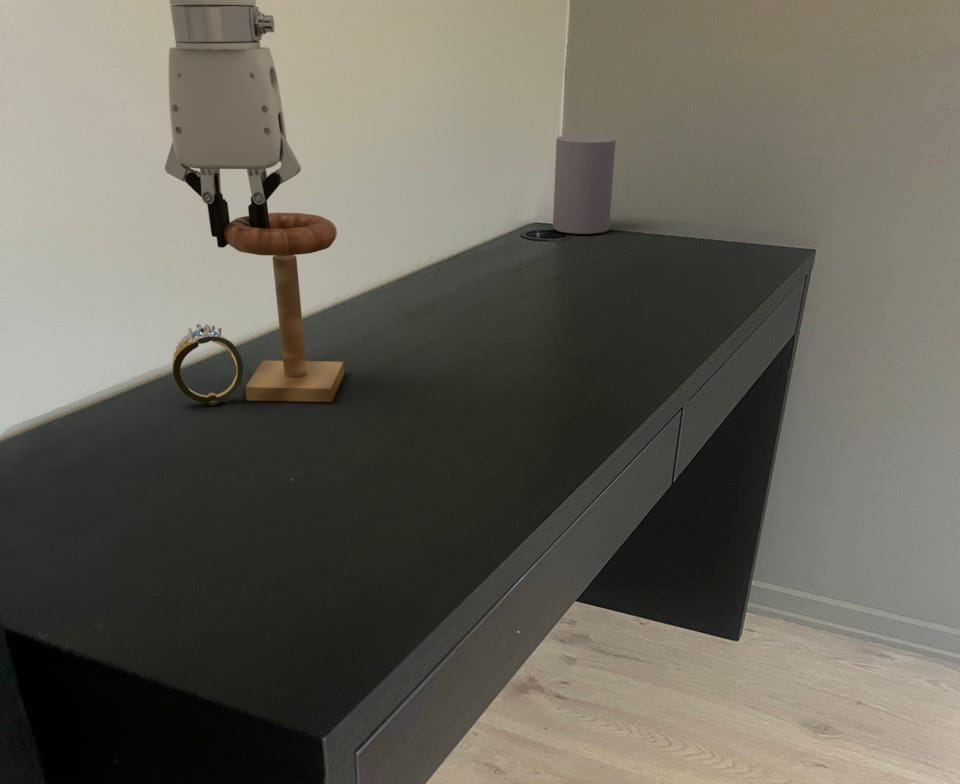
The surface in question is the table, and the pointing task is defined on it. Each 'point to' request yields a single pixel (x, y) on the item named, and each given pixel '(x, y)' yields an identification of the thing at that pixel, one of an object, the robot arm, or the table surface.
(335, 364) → the post
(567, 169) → the container
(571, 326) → the table surface
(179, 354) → the ring
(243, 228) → the ring
